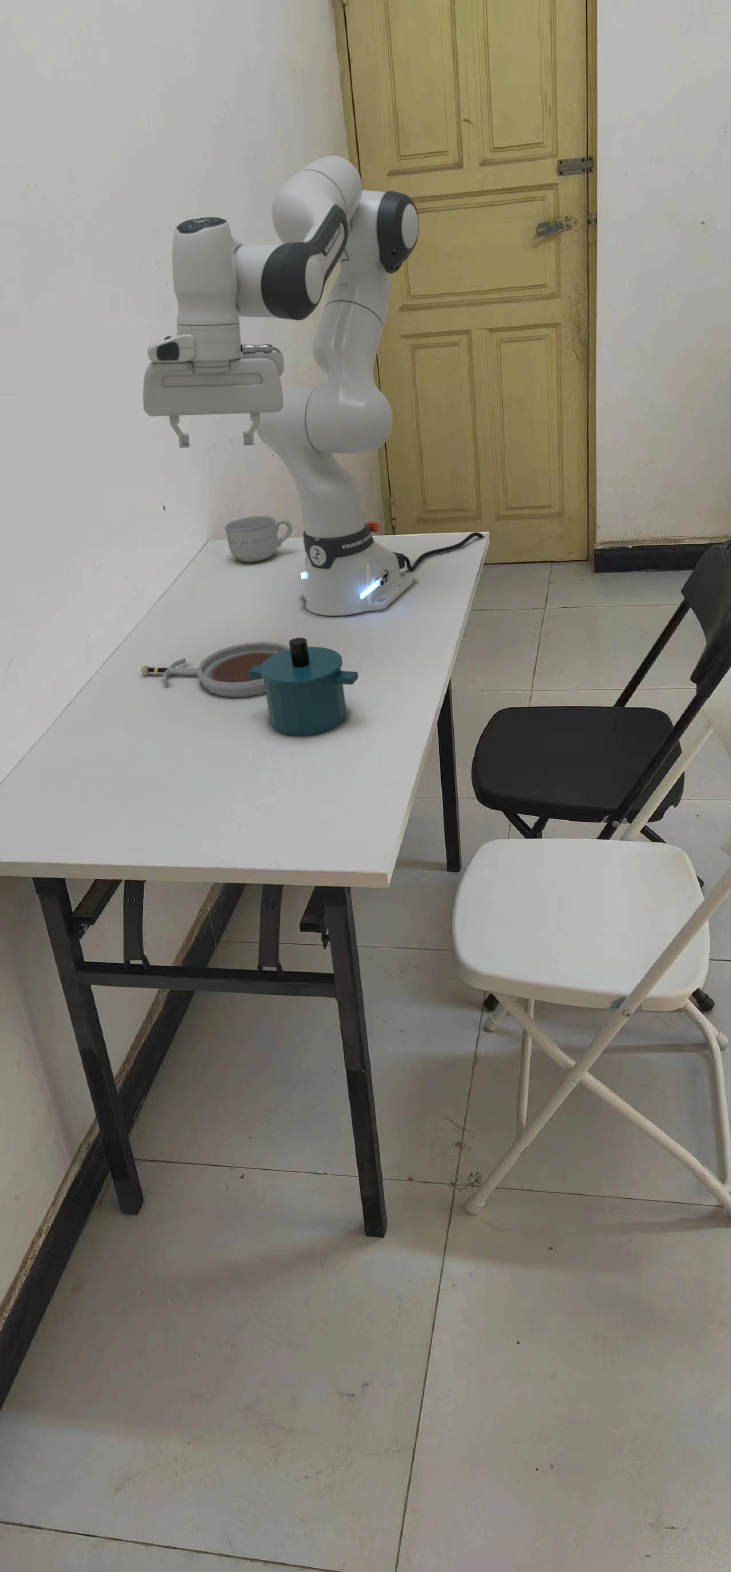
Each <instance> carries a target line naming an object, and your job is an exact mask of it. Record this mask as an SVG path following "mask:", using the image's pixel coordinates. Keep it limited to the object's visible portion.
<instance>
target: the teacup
mask: <svg viewBox="0 0 731 1572" xmlns="http://www.w3.org/2000/svg"><path fill="white" fill-rule="evenodd" d="M282 524H283V525H286V527H287V530H286V533H285V534H284V535H283V536H281V537H279V538H278V532H279V527H280V525H282ZM224 529H225V534H226V539H227V543H228V548H229V551H230V553H231V555H233V556H234V557H235V558H237V559H238V560H239V561H241V562H244V563H252V562H260V561H263V560H267V559H269V558H270V557H272V556H273V554H274V553H275V551H276V550H277V549H278V548H280V547H281V546H282V543H283V542H285V541H286V540H287V539H289V538H290V536H291V534H292V533H293V525H292V523H291V522H290V520H288V519H287V518H280V519H278V520H277V521H276V518H275V517H274V516H272V515H250V516H244V517H240V518H236V519H233V520H231V521H229V522H227V523H225V524H224Z"/></svg>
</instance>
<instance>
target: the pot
mask: <svg viewBox="0 0 731 1572" xmlns="http://www.w3.org/2000/svg"><path fill="white" fill-rule="evenodd" d="M248 674H249V678H262V679H264V678H263V677H262V676H261V673H260V665H255V666H254V667H252V668H251V669H250V670H249V671H248ZM358 679H359V672H358V671H352V670H342V667H341V668H340V670H339V671H338V672H336V673H335V674H334V675H332V676H330V677H328V678H326V679H323V680H320V681H317V682H313V683H309V684H302V685H280V684H275V683H271V682H269V681H267V680H265V679H264V685H265V691H266V693H265V697H266V702H267V703H266V704H267V707H268V708H267V709H268V715H269V721H270V724H271V727H272V728H273V730H274V731H276V732H278V733H279V734H282V735H284V736H291V737H310V736H316V735H321V734H325V733H327V732H330V731H332V730H334V729H336V728H338V727H339V726H340V725H342V724H343V723H344V721H345V720H346V719H347V705H346V699H345V689H344V685H350V686H352V685H354V684H355V682H356V681H357V680H358Z"/></svg>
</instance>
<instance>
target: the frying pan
mask: <svg viewBox="0 0 731 1572" xmlns="http://www.w3.org/2000/svg"><path fill="white" fill-rule="evenodd" d="M286 650H290V646H288V645H285V644H282V643H278V642H267V641H259V642H246V643H241V644H235V645H231V646H227V647H225V648H222V649H219V650H217V651H215V652H213V653H211V654H209V655H207V657H205V658H204V659H203V660H201V661H200V663H199V665H198V667H179V666H181V665H184V664H186V663H187V659H186V657H183V658H181V659H179V660H176V661H174V662H172V663H171V664H170V665H169V666H168V667H150V666H148V665H147V664H144V665H142V667H141V668H140V672H141V674H143V675H145V676H147V675H149V674H150V673H156V674H159V673H161V674H162V678H163V680H164V683H165V684H168V678H167V677H168V676H169V675H170V674H196V675H197V679H198V680H199V681H200V682H201V683H202V685H203V687H204V689H206V690H207V691H208V692H209V693H211V694H214V695H217V696H220V697H228V698H242V697H243V698H245V697H253V696H258V695H263V694H266V691H265V685H264V679H262V678H249V674H248V671H249V670H250V669H251V668H252V667H254V666H255V665H260V666H261V664H262V663H263V662H264V661H265V660H266V659H268V658H269V657H271V656H273V655H275V654H277V653H280V652H283V651H286Z"/></svg>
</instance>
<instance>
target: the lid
mask: <svg viewBox="0 0 731 1572" xmlns="http://www.w3.org/2000/svg"><path fill="white" fill-rule="evenodd" d="M288 645H289V646H288V647H289V648H290V650H286V651H283V652H280V653H277V654H275V655H273V656H271V657H269V658H268V659H266V660H265V661H264V662H263V663H262V664H261V666H260V673H261V676H262V677H263V678H264V679H265V680H267V681H269V682H271V683H275V684H280V685H302V684H309V683H313V682H317V681H320V680H323V679H326V678H328V677H330V676H332V675H334V674H335V673H336V672H338V671H339V670H340V668H341V669H342V667H343V664H344V663H343V657H342V655H341V653H339V652H338V651H336V650H333V649H331V648H327V647H320V646H308V640H307V638H305V637H294V638H292V639H290V640H289V641H288Z"/></svg>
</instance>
